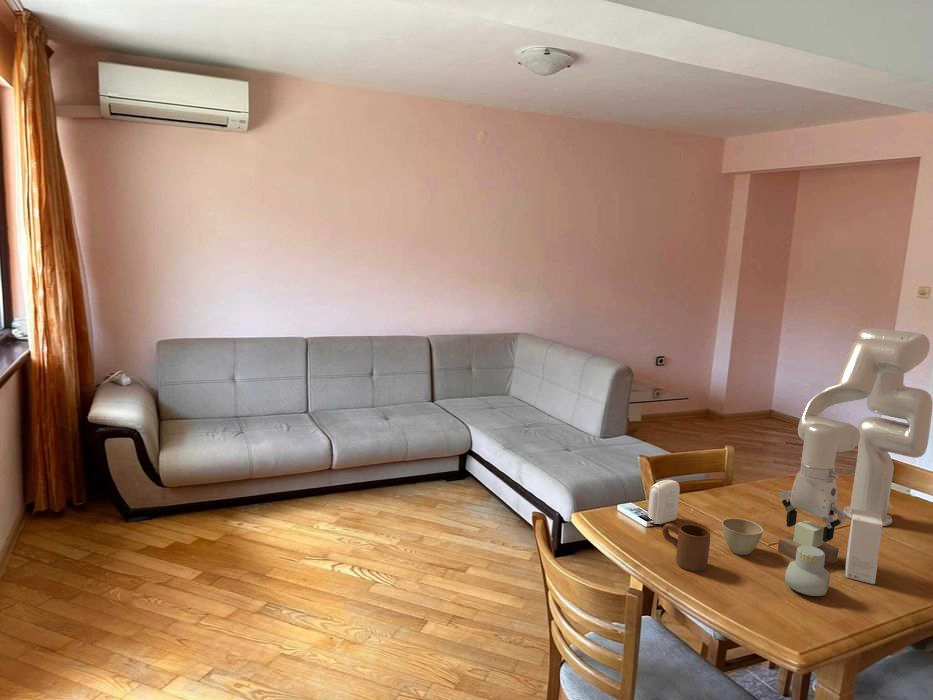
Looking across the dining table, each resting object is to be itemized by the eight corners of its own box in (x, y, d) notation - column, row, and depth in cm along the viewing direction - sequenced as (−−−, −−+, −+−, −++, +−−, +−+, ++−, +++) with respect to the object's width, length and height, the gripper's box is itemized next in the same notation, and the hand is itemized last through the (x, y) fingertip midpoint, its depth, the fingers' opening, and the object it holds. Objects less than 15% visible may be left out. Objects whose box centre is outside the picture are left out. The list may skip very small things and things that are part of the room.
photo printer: (667, 514, 188) (671, 475, 186) (679, 519, 184) (682, 480, 182) (644, 521, 182) (647, 481, 180) (656, 527, 179) (659, 486, 177)
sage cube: (804, 537, 168) (806, 519, 167) (822, 545, 163) (824, 527, 163) (793, 541, 165) (795, 523, 164) (811, 549, 161) (814, 531, 160)
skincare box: (874, 585, 151) (884, 525, 148) (843, 577, 154) (851, 518, 152) (874, 571, 158) (882, 513, 155) (843, 563, 161) (852, 507, 159)
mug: (654, 559, 160) (657, 525, 158) (665, 549, 165) (669, 516, 164) (701, 576, 152) (704, 540, 151) (711, 564, 158) (715, 530, 156)
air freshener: (792, 574, 155) (797, 537, 153) (829, 587, 149) (835, 548, 148) (781, 592, 146) (786, 552, 145) (820, 605, 141) (826, 565, 139)
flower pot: (740, 540, 172) (743, 516, 171) (768, 557, 163) (771, 531, 162) (711, 544, 169) (713, 519, 168) (737, 562, 160) (740, 536, 159)
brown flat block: (801, 546, 171) (802, 532, 171) (836, 562, 162) (838, 548, 162) (777, 553, 167) (779, 539, 166) (812, 570, 158) (814, 555, 157)
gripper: (859, 480, 156) (849, 543, 159) (793, 459, 170) (785, 517, 173) (843, 485, 152) (833, 550, 155) (776, 463, 167) (769, 523, 169)
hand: (808, 533), depth 164 cm, fingers open, 9 cm apart
